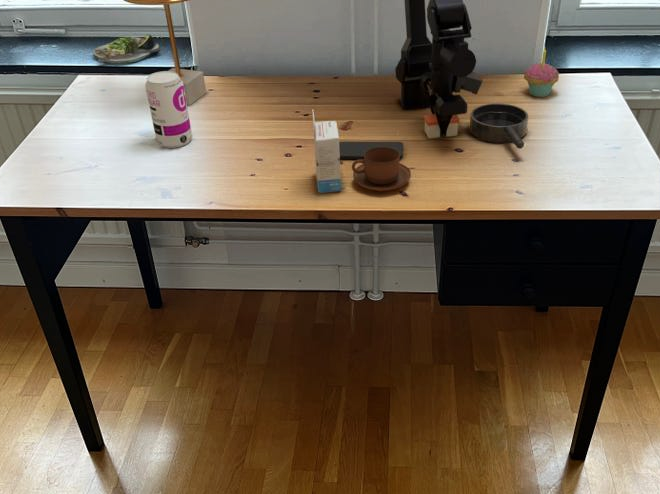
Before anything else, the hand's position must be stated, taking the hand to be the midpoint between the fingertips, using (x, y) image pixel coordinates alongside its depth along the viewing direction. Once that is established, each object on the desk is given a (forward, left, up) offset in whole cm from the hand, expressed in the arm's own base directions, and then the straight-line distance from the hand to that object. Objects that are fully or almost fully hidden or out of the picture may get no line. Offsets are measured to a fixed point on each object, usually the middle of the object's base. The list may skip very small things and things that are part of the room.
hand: (441, 129), depth 179 cm
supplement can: (-61, +10, -1) cm, 62 cm away
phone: (-18, -6, -1) cm, 19 cm away
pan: (+13, -2, -1) cm, 13 cm away
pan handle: (+13, -13, +2) cm, 18 cm away
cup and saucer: (-18, -20, -1) cm, 27 cm away
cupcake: (+30, +17, -1) cm, 35 cm away
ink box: (-29, -18, -1) cm, 34 cm away
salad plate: (-74, +72, -1) cm, 103 cm away
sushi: (0, 0, -1) cm, 1 cm away
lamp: (-59, +36, -1) cm, 69 cm away
